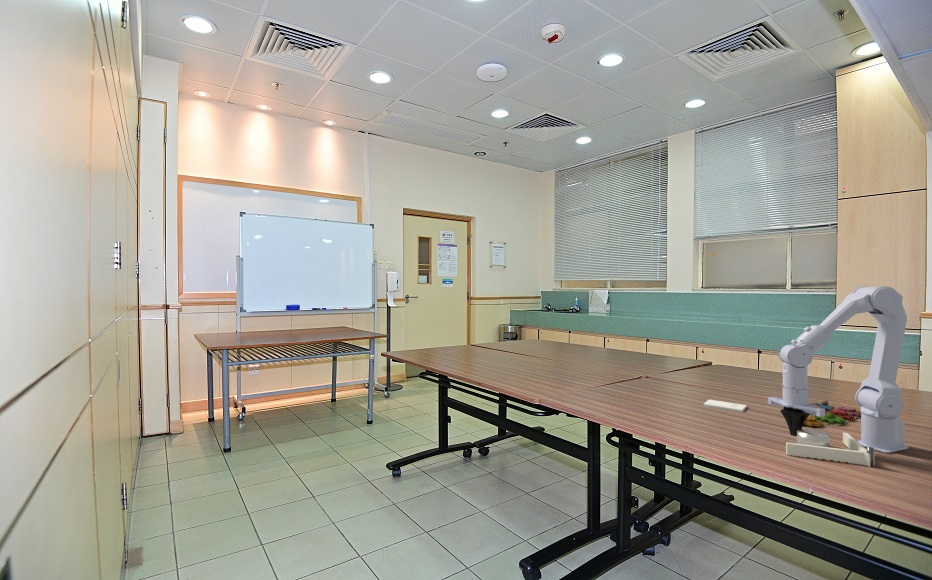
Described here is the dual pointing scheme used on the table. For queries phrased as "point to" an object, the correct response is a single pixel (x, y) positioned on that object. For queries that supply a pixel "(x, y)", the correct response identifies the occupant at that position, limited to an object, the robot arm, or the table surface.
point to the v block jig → (835, 452)
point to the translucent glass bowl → (812, 437)
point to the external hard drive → (725, 405)
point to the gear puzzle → (832, 415)
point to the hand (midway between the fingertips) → (795, 435)
